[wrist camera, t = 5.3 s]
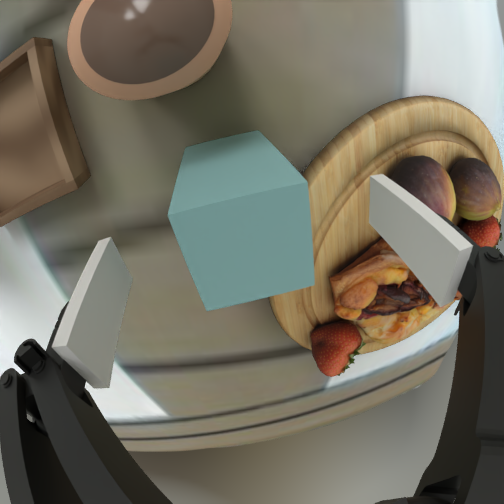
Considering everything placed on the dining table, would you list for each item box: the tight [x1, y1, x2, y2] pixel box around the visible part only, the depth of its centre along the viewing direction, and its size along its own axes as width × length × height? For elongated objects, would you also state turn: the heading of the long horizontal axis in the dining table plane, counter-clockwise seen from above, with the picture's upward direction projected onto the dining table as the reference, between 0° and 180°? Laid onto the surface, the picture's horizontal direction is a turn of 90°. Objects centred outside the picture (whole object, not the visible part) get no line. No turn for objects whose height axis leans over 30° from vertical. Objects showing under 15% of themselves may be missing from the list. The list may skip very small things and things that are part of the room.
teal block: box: [168, 130, 315, 311], centre depth 15 cm, size 5×5×10 cm
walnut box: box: [0, 37, 91, 227], centre depth 13 cm, size 11×11×2 cm
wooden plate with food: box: [269, 96, 504, 377], centre depth 23 cm, size 32×32×8 cm
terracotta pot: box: [67, 0, 232, 100], centre depth 10 cm, size 7×7×7 cm
